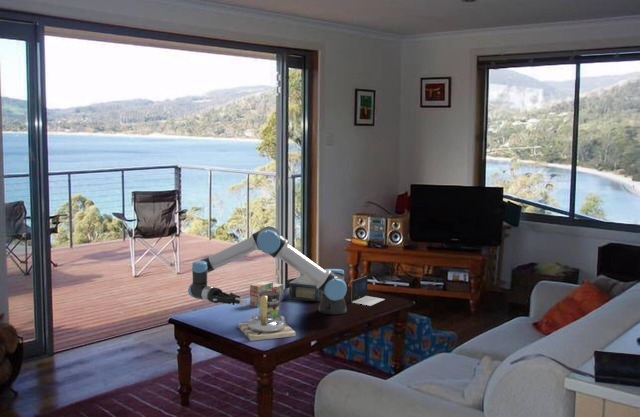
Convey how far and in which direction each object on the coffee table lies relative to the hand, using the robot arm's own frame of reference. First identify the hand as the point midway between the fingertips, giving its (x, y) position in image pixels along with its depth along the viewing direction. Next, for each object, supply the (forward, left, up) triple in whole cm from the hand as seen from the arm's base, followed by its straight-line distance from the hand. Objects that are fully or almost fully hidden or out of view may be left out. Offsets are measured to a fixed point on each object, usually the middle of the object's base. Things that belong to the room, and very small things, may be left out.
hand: (245, 302), depth 322 cm
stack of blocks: (-45, +25, -14) cm, 54 cm away
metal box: (-56, +57, -14) cm, 82 cm away
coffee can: (-13, +16, -14) cm, 25 cm away
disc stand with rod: (+5, +9, -12) cm, 16 cm away
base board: (+5, +9, -14) cm, 17 cm away
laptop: (-31, +82, -14) cm, 89 cm away
